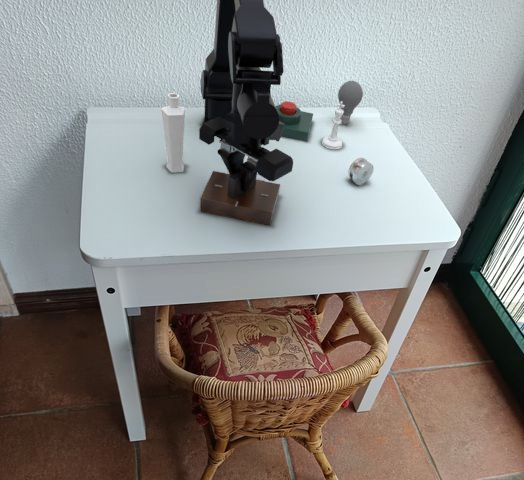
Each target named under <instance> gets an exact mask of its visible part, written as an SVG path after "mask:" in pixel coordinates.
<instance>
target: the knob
mask: <svg viewBox="0 0 524 480" xmlns="http://www.w3.org/2000/svg"><path fill="white" fill-rule="evenodd" d="M257 176H258V173H257V174H256V176H255V177H254V179H253V181H252V183H251V185H250V187H249V189H248V190H250V189H252V188H254V187H255V186H256V180H257ZM248 190H247V191H248ZM243 193H244V192H243V190H242V186H241V176H240V171H239V172H237V173H235V174H233V175H231V176H229V177H228V192H227V195H228V196H230V197H231V198H233V199H234V198H235V197H237V196H239V195H241V194H243Z"/></svg>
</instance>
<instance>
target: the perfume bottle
mask: <svg viewBox="0 0 524 480" xmlns="http://www.w3.org/2000/svg"><path fill="white" fill-rule="evenodd" d="M179 97H180V94H178V93H175V92H170V93H168V94H167V99H168V105H165V106H164V107H161V116H162V117H161V118H162V126H163V133H164V142H165V148H166V150H165V151H166V158H167V161H166V166H165V167H166V169H167V170H168V171H169V172H170V173H173V174H174V173H183V172H184V169H185V163H184V160H183V159H184V140H185V121H186V119H185V118H186V107H184V106H182V105H180V104H179Z"/></svg>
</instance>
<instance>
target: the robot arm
mask: <svg viewBox="0 0 524 480" xmlns="http://www.w3.org/2000/svg"><path fill="white" fill-rule="evenodd" d="M215 11H216V12H215V13H216V14H215V24H214V25H215V27H214V41H213V49H212V50H211V51H210V53H209V54H208V55H207V56H206V57H205V65H204V69H201V70H202V71H201V76H200V79H199V80H200V94H201V97H202V100H204V119H203V120H202V123H201V125H200V126H199V129H198V131H199V132H198V133H199V135H198V139H199V140H200V141H201V142H203V143H205V144H207V145H208V146H210V145H212V144H213V143H214V142H215V137H216V138H218V139H219V144H220V147H219V149H217V155H219V157H220V158H221V160H222V162H223V163H224V164H223V165H224V166H225V167H226V169H227V172H228V174H230V176H231V175H233V174H235V173H237V172H239V171H240V176H241V186H242V190H243V192H246V191H247V190H248V189H249V187H250V185H251V183H252V181H253V179H254V177H255V176H256V174H257V175H258V176H260V177H261V178H264V179H265V180H267V181H268V182H275V181H278V180H279V179H280V178H282V177H284V176H286V175H289V174H290V173H292V172H293V167H294V159H293V158H292V157H291V155H289V154H287V153H285V152H284V151H282V150H280V149H278V148H275V149H272V150H269V149H267V148H265V147H264V146H267V145H270V141H276V142H280V140H281V137H282V136H281V134H282V131H283V129H284V126H285V124H284V123H282V122H280V121H279V114H278V111H277V109H276V107H275V106H276V104H275V102H274V100H273V97H272V95H271V89H272V87H271V86H281V84H282V78H281V76H283V74H284V72H285V71H284V56H283V43H282V42H281V36H280V34H278V33H277V28H276V22H275V18H274V16H273V15H272V13H271V12H269V10H268V9H267V8H266V7H265V2H264V0H216V10H215ZM271 67H272V68H273V69H272V70H262V69H270V68H271ZM245 157H247V159H246V161H245Z"/></svg>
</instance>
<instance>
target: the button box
mask: <svg viewBox="0 0 524 480" xmlns="http://www.w3.org/2000/svg"><path fill="white" fill-rule="evenodd" d="M281 104H282V103H280V104H278V105H275V107H276V109H277V111H278V114H279V121H280V122H282V123H284V124H285V126H284V129H283V131H282V134H281V137H283V138H289V139H292V140H293V139H294V140H299V141H304V142H308V139H309V135H310V132H311V131H310V130H311V127H312V122H313V117H314V113H312V112H307V111H303V110H301V109H300V107H297V106H296V111H295V114H294V115H286V114H283V113H281V112H280V110H281Z"/></svg>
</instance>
